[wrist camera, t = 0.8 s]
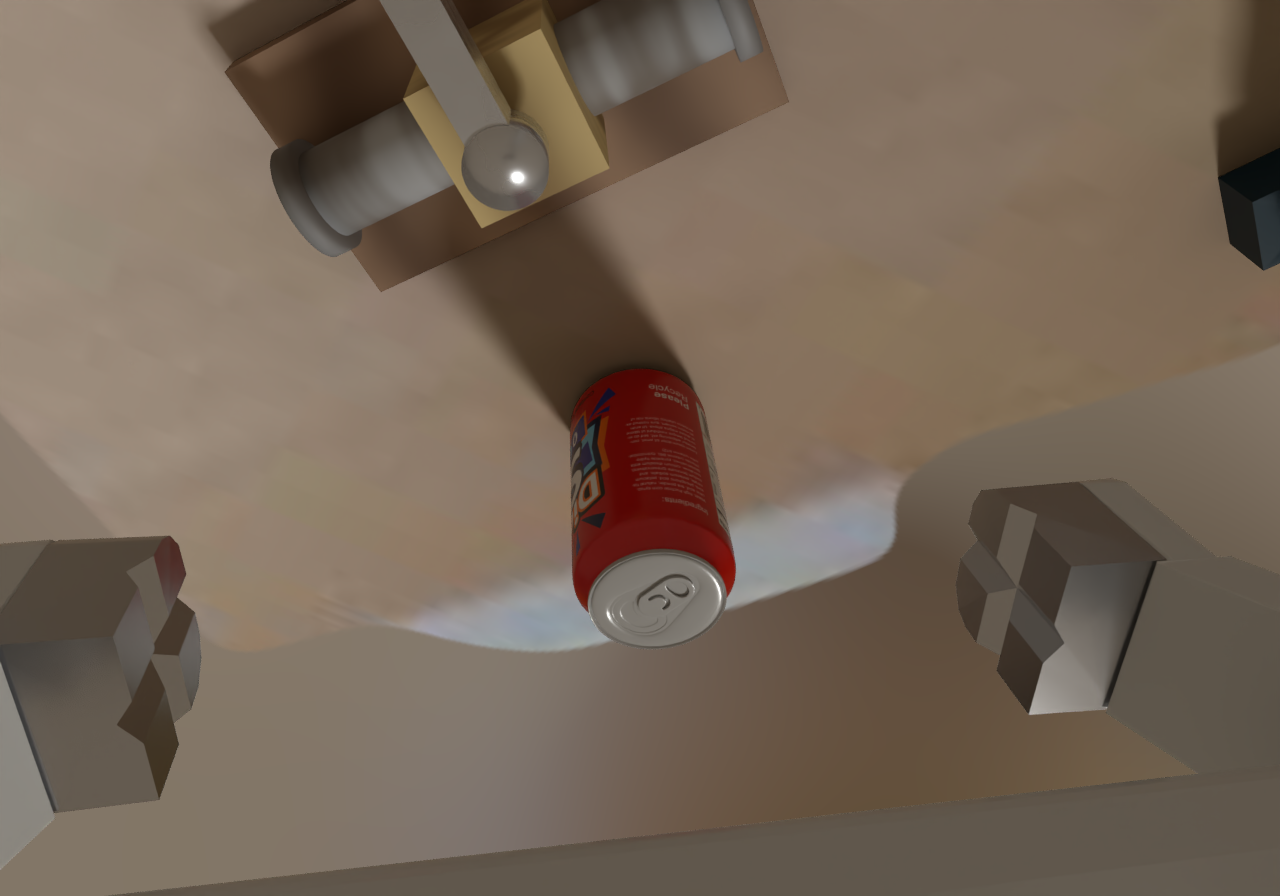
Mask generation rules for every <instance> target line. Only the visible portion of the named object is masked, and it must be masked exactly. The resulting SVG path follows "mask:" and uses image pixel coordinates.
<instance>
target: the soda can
mask: <svg viewBox="0 0 1280 896" xmlns="http://www.w3.org/2000/svg"><path fill="white" fill-rule="evenodd" d="M570 461H571V524H572V575H573V585H574V589H575V593H576V595H577V598H578V600H579V602H580V603H581V605H582V606H583V607H584V609H585V610H586V611H587V612H588V613H589V615H590V617H591V620H592V622H593V623H594V625H595V626H596V627H597V629H598V630H599V631H600V632H601V633H603V634H604V635H605V636H607V637H608V638H610V639H611V640H613V641H615V642H617V643H620V644H622V645H626V646H629V647H634V648H640V649H664V648H671V647H675V646H679V645H682V644H685V643H687V642H690V641H692V640H694V639H696V638H698V637H700V636H701V635H703V634H704V633H706V632H707V631H708V630H709V629H711V628H712V627H713V626H714V625H715V624H716V622H717V621H718V620H719V618H720V617H721V615H722V613H723V611H724V609H725V605H726V600H727V597H728V595H729V594H730V592H731V590H732V587H733V585H734V581H735V574H736V564H735V557H734V551H733V546H732V542H731V537H730V532H729V527H728V522H727V517H726V513H725V508H724V503H723V498H722V493H721V488H720V483H719V479H718V474H717V469H716V464H715V459H714V454H713V449H712V445H711V440H710V435H709V430H708V425H707V421H706V416H705V412H704V409H703V406H702V404H701V402H700V400H699V398H698V396H697V395H696V393H695V392H694V391H693V390H692V389H691V388H690V387H689V386H688V385H687V384H686V383H685V382H683V381H682V380H680V379H679V378H677V377H675V376H673V375H671V374H668V373H665V372H662V371H658V370H653V369H628V370H623V371H619V372H616V373H613V374H610V375H608V376H606V377H604V378H602V379H600V380H599V381H597V382H595V383H594V384H593V385H592V386H590V387H589V388H588V389H587V390H586V391H585V392H584V393H583V394H582V396H581V397H580V398H579V400H578V402H577V403H576V405H575V408H574V410H573V413H572V418H571V424H570Z"/></svg>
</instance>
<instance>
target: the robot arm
mask: <svg viewBox="0 0 1280 896" xmlns="http://www.w3.org/2000/svg"><path fill="white" fill-rule="evenodd" d="M968 525H969V526H970V528H971V530H972V531H973V533H974V535H975V537H976V538H977V542H976V543H975V544H974V545H973V546H972V547H971V548H970V549H969V550H968V551H967V552H966V553H965V554H964V556H963V557H962V558H961V559H960V564H959V569H958V575H957V580H956V592H957V601H958V608H959V612H960V614H961V617H962V620H963V622H964V625H965V627H966V629H967V630H968V631H969V633H970V634H971V636H972V637H973V639H974V640H975V642H976V643H978V644H980V645H982V646H983V647H985V648H987V649H989V650H991V651H993V652H994V653H996V654H998V655H1000V658H999V662H998V667H997V672H998V673H999V675H1000V676H1001V678H1002V679H1003V680H1004V682H1005V683H1006V684H1007V686H1008V687H1009V688H1010V690H1011V691H1012V693H1013V694H1014V695H1015V697H1016V698H1017V699H1018V701H1019V702H1020V703H1021V705H1022V706H1023V707H1024V709H1025V710H1026V712H1027V713H1028V714H1029V715H1030V714H1046V713H1060V712H1073V711H1089V710H1104V709H1107V711H1106V713H1107V714H1108V715H1110V716H1111V717H1113V718H1114V719H1116V720H1117V721H1119V722H1120V723H1122V724H1123V725H1125V726H1126V727H1128V728H1129V729H1131V730H1132V731H1134V732H1136V733H1137V734H1139V735H1140V736H1142V737H1143V738H1145V739H1146V740H1148V741H1149V742H1151V743H1152V744H1154V745H1155V746H1157V747H1158V748H1160V749H1161V750H1163V751H1164V752H1166V753H1167V754H1169V755H1170V756H1172V757H1174V758H1175V759H1177V760H1178V761H1180V762H1181V763H1183V764H1184V765H1186V766H1187V767H1189V768H1190V769H1192V770H1193V771H1195V772H1196V773H1198V774H1192V775H1183V776H1174V777H1165V778H1156V779H1147V780H1138V781H1130V782H1121V783H1112V784H1103V785H1094V786H1084V787H1076V788H1067V789H1058V790H1049V791H1040V792H1031V793H1022V794H1014V795H1004V796H995V797H986V798H978V799H968V800H959V801H950V802H943V803H942V802H941V803H932V804H924V805H915V806H905V807H896V808H888V809H879V810H869V811H861V812H852V813H844V814H834V815H825V816H817V817H808V818H799V819H790V820H781V821H774V822H764V823H756V824H746V825H737V826H728V827H719V828H711V829H702V830H693V831H683V832H675V833H666V834H657V835H647V836H640V837H639V836H638V837H629V838H621V839H612V840H603V841H594V842H585V843H576V844H567V845H558V846H549V847H540V848H531V849H522V850H513V851H504V852H495V853H487V854H477V855H469V856H460V857H450V858H441V859H433V860H424V861H414V862H406V863H396V864H388V865H379V866H370V867H361V868H353V869H343V870H334V871H326V872H316V873H307V874H298V875H290V876H280V877H271V878H262V879H253V880H244V881H235V882H227V883H218V884H209V885H201V886H200V885H199V886H190V887H181V888H172V889H164V890H155V891H146V892H137V893H128V894H119V895H110V896H1280V574H1277V573H1274V572H1272V571H1269V570H1266V569H1264V568H1261V567H1258V566H1256V565H1253V564H1250V563H1247V562H1245V561H1242V560H1239V559H1237V558H1234V557H1231V556H1227V557H1216V556H1215V555H1214V554H1213V553H1212V552H1210V551H1209V550H1208V549H1207V548H1206V547H1204V546H1203V545H1202V544H1200V543H1199V542H1198V541H1197V540H1196V539H1194V538H1193V537H1192V536H1191V535H1190V534H1188V533H1187V532H1186V531H1185V530H1184V529H1182V528H1181V527H1180V526H1179V525H1177V524H1176V523H1175V522H1174V521H1172V520H1171V519H1170V518H1169V517H1168V516H1167V515H1165V514H1164V513H1163V512H1162V511H1160V510H1159V509H1158V508H1157V507H1155V506H1154V505H1153V504H1152V503H1151V502H1149V501H1148V500H1147V499H1146V498H1145V497H1143V496H1142V495H1141V494H1140V493H1138V492H1137V491H1136V490H1135V489H1133V488H1132V487H1131V486H1130V485H1129V484H1128V483H1126V482H1124V481H1120V480H1117V479H1112V478H1108V479H1098V480H1088V481H1078V482H1069V483H1057V484H1046V485H1034V486H1022V487H1011V488H999V489H989V490H981V491H980V493H979V495H978V497H977V498H976V500H975V501H974V503H973V506H972V510H971V515H970V519H969V523H968ZM185 576H186V571H185V567H184V564H183V560H182V556H181V552H180V549H179V545H178V544H177V543H176V542H175V541H174V540H173V539H172V537H171V536H150V537H125V538H100V539H75V540H58V541H53V540H42V541H28V542H14V543H2V544H0V869H2V868H3V867H4V866H5V865H6V864H7V863H8V862H9V861H10V860H11V859H12V858H13V857H14V856H15V855H17V854H18V852H20V851H21V850H22V849H23V848H24V847H25V846H26V845H27V844H28V843H29V842H30V841H31V840H32V839H34V837H36V836H37V835H38V834H39V833H40V832H41V831H42V830H43V829H44V828H45V827H46V826H47V825H48V824H49V823H50V822H52V821H53V820H54V819H55V815H54V813H58V812H66V811H75V810H83V809H90V808H99V807H106V806H115V805H122V804H131V803H139V802H147V801H155V800H159V799H160V796H161V793H162V791H163V788H164V785H165V782H166V779H167V776H168V774H169V771H170V768H171V765H172V762H173V760H174V757H175V754H176V751H177V748H178V746H179V742H178V739H177V735H176V731H175V726H174V722H176V721H177V720H178V719H180V718H181V717H182V716H183V715H184V714H186V713H187V712H188V711H190V710H191V708H192V705H193V702H194V699H195V696H196V692H197V689H198V684H199V674H200V665H201V647H200V634H199V629H198V624H197V619H196V615H195V612H194V611H193V610H191V609H190V608H189V607H188V606H187V605H185V604H184V603H183V602H182V601H181V600H179V599H178V598H177V595H178V593H179V591H180V588H181V586H182V583H183V581H184V579H185Z"/></svg>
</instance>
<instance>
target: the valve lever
mask: <svg viewBox="0 0 1280 896" xmlns="http://www.w3.org/2000/svg"><path fill="white" fill-rule="evenodd" d="M379 1H380V2H381V4H382V6H383V7H384V9H385V11H386V12H387V14H388V16H389V18H390V19H391V21H392V23H393V24H394V26H395V28H396V30H397V31H398V33H399V35H400V36H401V38H402V40H403V42H404V43H405V45H406V47H407V48H408V50H409V52H410V54H411V55H412V57H413V59H414V60H415V62H416V64H417V65H418V67H419V69H420V71H421V72H422V74H423V76H424V77H425V79H426V81H427V83H428V84H429V86H430V88H431V89H432V91H433V93H434V95H435V96H436V98H437V100H438V101H439V103H440V105H441V107H442V108H443V110H444V112H445V113H446V115H447V117H448V119H449V120H450V122H451V124H452V125H453V127H454V129H455V130H456V132H457V134H458V136H459V137H460V139H461V141H462V142H463V144H464V146H465V147H464V152H463V156H462V162H461V171H462V176H463V180H464V182H465V185H466V187H467V188H468V190H469V191H470V193H471V194H472V195H473V196H474V197H475V198H476V199H477V200H478V201H479V202H481V203H482V204H484V205H486V206H488V207H490V208H493V209H496V210H502V211H513V210H519V209H522V208H525V207H527V206H529V205H530V204H532V203H533V202H535V201H536V200H537V199H538V198H539V197H540V195H541V194H542V193H543V191H544V189H545V187H546V185H547V181H548V176H549V144H548V140H547V137H546V135H545V132H544V131H543V129H542V127H541V126H540V125H539V124H538V123H537V122H536V121H535V120H534V119H533V118H532V117H530V116H529V115H527V114H526V113H524V112H521V111H518V110H515V109H511V108H510V107H509V105H508V103H507V101H506V99H505V97H504V95H503V94H502V92H501V90H500V88H499V86H498V84H497V82H496V81H495V79H494V77H493V75H492V73H491V71H490V69H489V68H488V66H487V64H486V62H485V60H484V58H483V57H482V55H481V53H480V51H479V49H478V47H477V45H476V44H475V42H474V40H473V38H472V36H471V34H470V32H469V31H468V29H467V27H466V25H465V23H464V21H463V19H462V18H461V16H460V14H459V12H458V10H457V8H456V7H455V5H454V3H453V1H452V0H379Z"/></svg>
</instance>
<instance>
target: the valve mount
mask: <svg viewBox="0 0 1280 896" xmlns="http://www.w3.org/2000/svg"><path fill="white" fill-rule="evenodd" d="M452 1H453V3H454V5H455V7H456V8H457V10H458V12H459V14H460V16H461V18H462V19H463V21H464V23H465V25H466V27H467V29H468V31H469V32H470V34H471V36H472V38H473V40H474V42H475V44H476V45H477V47H478V49H479V51H480V53H481V55H482V57H483V58H484V60H485V62H486V64H487V66H488V68H489V69H490V71H491V73H492V75H493V77H494V79H495V81H496V82H497V84H498V86H499V88H500V90H501V92H502V94H503V95H504V97H505V99H506V101H507V103H508V105H509V107H510V108H511V109H515V110H518V111H521V112H524V113H526V114H527V115H529V116H530V117H532V118H533V119H534V120H535V121H536V122H537V123H538V124H539V125H540V126H541V127H542V129H543V131H544V132H545V135H546V137H547V140H548V144H549V176H548V181H547V185H546V187H545V189H544V191H543V193H542V194H541V195H540V197H539V198H538V199H537V200H536V201H535V202H533V203H532V204H530V205H529V206H527V207H525V208H522V209H519V210H513V211H502V210H496V209H493V208H490V207H488V206H486V205H484V204H482V203H481V202H479V201H478V200H477V199H476V198H475V197H474V196H473V195H472V194H471V193H470V191H469V190H468V188H467V187H466V185H465V182H464V180H463V176H462V171H461V162H462V156H463V152H464V147H465V146H464V144H463V142H462V141H461V139H460V137H459V136H458V134H457V132H456V130H455V129H454V127H453V125H452V124H451V122H450V120H449V119H448V117H447V115H446V113H445V112H444V110H443V108H442V107H441V105H440V103H439V101H438V100H437V98H436V96H435V95H434V93H433V91H432V89H431V88H430V86H429V84H428V83H427V81H426V79H425V77H424V76H423V74H422V72H421V71H420V69H419V67H418V65H417V64H416V62H415V60H414V59H413V57H412V55H411V54H410V52H409V50H408V48H407V47H406V45H405V43H404V42H403V40H402V38H401V36H400V35H399V33H398V31H397V30H396V28H395V26H394V24H393V23H392V21H391V19H390V18H389V16H388V14H387V12H386V11H385V9H384V7H383V6H382V4H381V2H380V1H379V0H347V1H345V2H343V3H341V4H339V5H338V6H336V7H334V8H332V9H330V10H328V11H326V12H325V13H323V14H321V15H319V16H317V17H315V18H314V19H312V20H310V21H308V22H306V23H304V24H303V25H301V26H299V27H297V28H295V29H293V30H291V31H290V32H288V33H286V34H284V35H282V36H280V37H279V38H277V39H275V40H273V41H271V42H269V43H268V44H266V45H264V46H262V47H260V48H258V49H256V50H255V51H253V52H251V53H249V54H247V55H245V56H244V57H242V58H240V59H238V60H236V61H234V62H233V63H232V64H231V65H230V66H229V68H228V69H227V70H226V71H225V73H226V75H227V76H228V78H229V79H230V80H231V82H232V83H233V85H234V86H235V87H236V89H237V90H238V92H239V93H240V95H241V96H242V97H243V99H244V100H245V102H246V103H247V104H248V106H249V107H250V109H251V110H252V111H253V113H254V114H255V116H256V117H257V118H258V120H259V121H260V123H261V124H262V125H263V127H264V128H265V130H266V131H267V132H268V134H269V135H270V137H271V138H272V140H273V141H274V142H275V144H276V145H277V147H278V149H276V150H275V151H274V152H273V153H272V155H271V159H270V169H271V175H272V179H273V183H274V186H275V189H276V192H277V194H278V196H279V199H280V201H281V203H282V205H283V207H284V209H285V211H286V212H287V214H288V216H289V217H290V219H291V221H292V222H293V223H294V225H295V226H296V228H297V229H298V230H299V232H300V233H301V234H302V235H303V236H304V238H305V239H306V240H307V241H308V242H309V243H310V244H311V245H312V246H313V247H315V248H316V249H317V250H318V251H320V252H321V253H323V254H325V255H327V256H330V257H337V256H339V255H341V254H343V253H345V252H347V251H349V250H351V251H352V252H353V253H354V255H355V256H356V258H357V259H358V260H359V262H360V263H361V265H362V266H363V268H364V269H365V270H366V272H367V273H368V275H369V276H370V277H371V279H372V280H373V282H374V283H375V284H376V286H377V287H378V289H379V290H380V291H381V292H382V291H384V290H386V289H389V288H391V287H393V286H395V285H397V284H399V283H401V282H404V281H406V280H408V279H410V278H412V277H414V276H416V275H419V274H421V273H423V272H425V271H427V270H429V269H432V268H434V267H436V266H438V265H440V264H442V263H444V262H447V261H449V260H451V259H453V258H455V257H457V256H459V255H462V254H464V253H466V252H468V251H470V250H472V249H474V248H477V247H479V246H481V245H483V244H485V243H487V242H489V241H492V240H494V239H496V238H498V237H500V236H502V235H505V234H507V233H509V232H511V231H513V230H515V229H517V228H520V227H522V226H524V225H526V224H528V223H530V222H532V221H535V220H537V219H539V218H541V217H543V216H545V215H547V214H550V213H552V212H554V211H556V210H558V209H560V208H562V207H565V206H567V205H569V204H571V203H573V202H575V201H578V200H580V199H582V198H584V197H586V196H588V195H590V194H593V193H595V192H597V191H599V190H601V189H603V188H605V187H608V186H610V185H612V184H614V183H616V182H618V181H620V180H623V179H625V178H627V177H629V176H631V175H633V174H635V173H638V172H640V171H642V170H644V169H646V168H648V167H651V166H653V165H655V164H657V163H659V162H661V161H663V160H666V159H668V158H670V157H672V156H674V155H676V154H678V153H681V152H683V151H685V150H687V149H689V148H691V147H693V146H696V145H698V144H700V143H702V142H704V141H706V140H708V139H711V138H713V137H715V136H717V135H719V134H721V133H724V132H726V131H728V130H730V129H732V128H734V127H736V126H739V125H741V124H743V123H745V122H747V121H749V120H751V119H754V118H756V117H758V116H760V115H762V114H764V113H766V112H769V111H771V110H773V109H775V108H777V107H779V106H781V105H784V104H786V103H788V102H789V100H788V97H787V94H786V92H785V89H784V86H783V83H782V80H781V77H780V75H779V72H778V69H777V66H776V63H775V61H774V58H773V55H772V52H771V49H770V47H769V44H768V41H767V38H766V35H765V32H764V30H763V27H762V24H761V21H760V18H759V16H758V13H757V10H756V7H755V4H754V2H753V0H452Z"/></svg>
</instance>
